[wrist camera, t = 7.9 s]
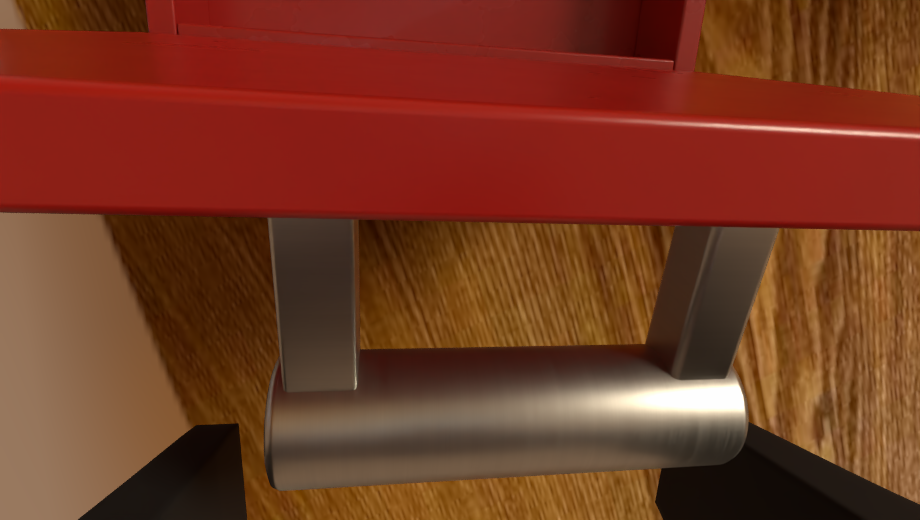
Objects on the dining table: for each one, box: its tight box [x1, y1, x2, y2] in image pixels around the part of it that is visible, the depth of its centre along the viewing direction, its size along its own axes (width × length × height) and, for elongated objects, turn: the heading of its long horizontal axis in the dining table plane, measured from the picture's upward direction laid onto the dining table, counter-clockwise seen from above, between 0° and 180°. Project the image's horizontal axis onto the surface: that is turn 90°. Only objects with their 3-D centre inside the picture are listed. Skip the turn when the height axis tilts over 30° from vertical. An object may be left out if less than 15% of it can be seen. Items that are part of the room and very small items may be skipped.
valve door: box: [0, 29, 920, 491], centre depth 8 cm, size 10×13×4 cm
